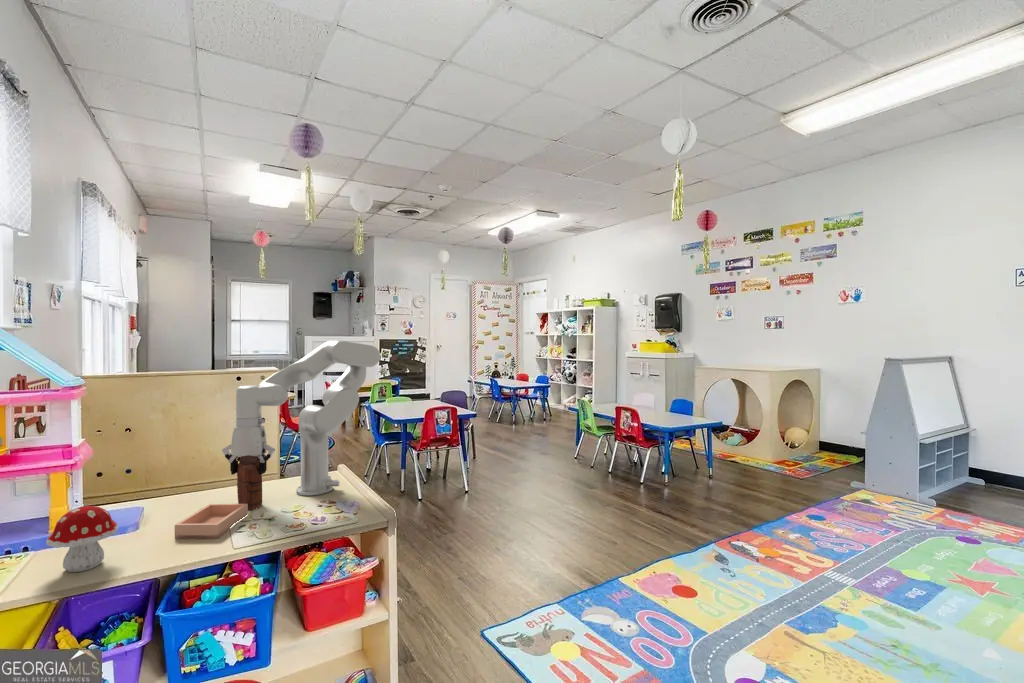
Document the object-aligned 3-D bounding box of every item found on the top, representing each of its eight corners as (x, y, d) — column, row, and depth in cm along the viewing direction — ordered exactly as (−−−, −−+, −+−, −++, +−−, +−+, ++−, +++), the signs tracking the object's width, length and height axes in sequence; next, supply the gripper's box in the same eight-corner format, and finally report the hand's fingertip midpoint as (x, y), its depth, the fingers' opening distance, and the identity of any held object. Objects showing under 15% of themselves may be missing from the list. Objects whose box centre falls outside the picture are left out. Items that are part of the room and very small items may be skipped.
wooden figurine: (267, 507, 165) (267, 454, 165) (246, 512, 160) (247, 457, 160) (253, 499, 173) (253, 448, 173) (233, 503, 168) (233, 451, 168)
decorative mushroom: (60, 559, 127) (59, 501, 127) (126, 550, 133) (126, 494, 132) (34, 585, 114) (33, 521, 114) (109, 573, 120) (108, 512, 120)
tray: (247, 516, 157) (247, 503, 157) (217, 538, 140) (217, 524, 140) (209, 516, 157) (209, 503, 157) (174, 539, 140) (174, 525, 140)
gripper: (279, 420, 170) (279, 470, 170) (228, 420, 169) (228, 470, 170) (269, 424, 162) (269, 476, 163) (216, 424, 162) (215, 476, 162)
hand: (248, 473), depth 166 cm, fingers closed on wooden figurine, 8 cm apart
